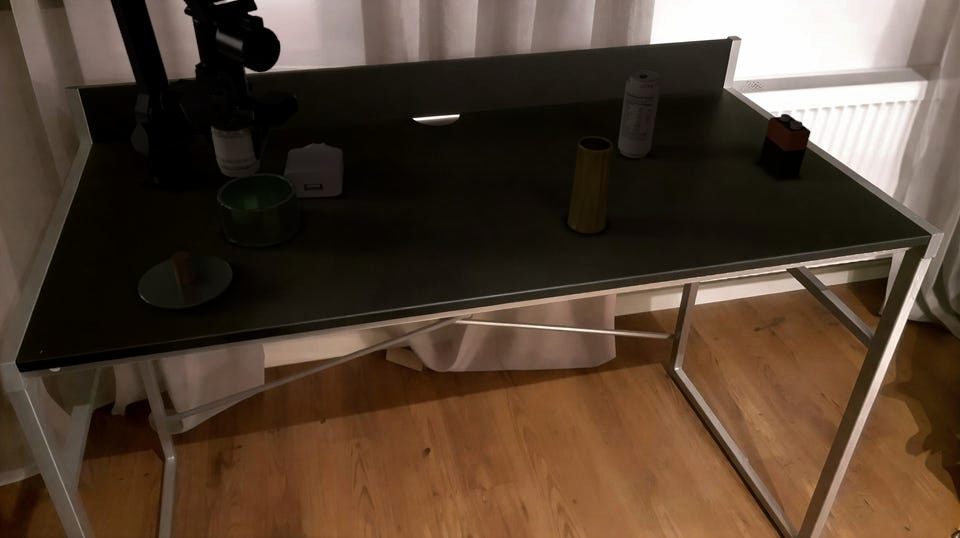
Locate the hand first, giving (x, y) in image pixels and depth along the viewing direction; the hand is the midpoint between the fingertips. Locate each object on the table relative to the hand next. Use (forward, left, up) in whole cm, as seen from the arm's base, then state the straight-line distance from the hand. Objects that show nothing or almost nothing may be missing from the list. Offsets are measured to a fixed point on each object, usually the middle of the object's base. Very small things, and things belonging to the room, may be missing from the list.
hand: (238, 156), depth 117 cm
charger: (+3, +19, -13) cm, 23 cm away
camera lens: (0, 0, -2) cm, 2 cm away
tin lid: (-1, -16, -12) cm, 20 cm away
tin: (+2, +1, -13) cm, 13 cm away
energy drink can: (+56, +44, -13) cm, 72 cm away
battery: (+82, +44, -13) cm, 93 cm away
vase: (+51, +16, -13) cm, 54 cm away
